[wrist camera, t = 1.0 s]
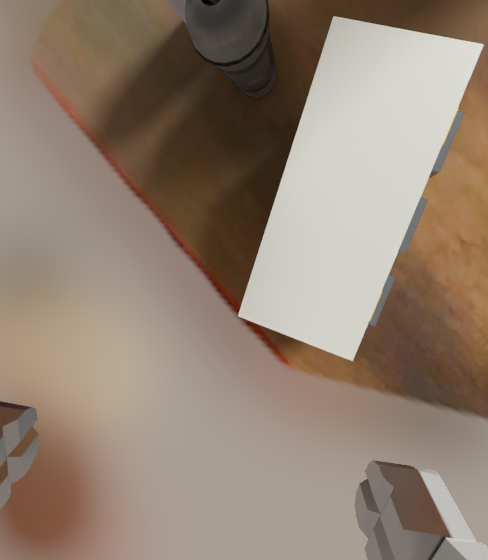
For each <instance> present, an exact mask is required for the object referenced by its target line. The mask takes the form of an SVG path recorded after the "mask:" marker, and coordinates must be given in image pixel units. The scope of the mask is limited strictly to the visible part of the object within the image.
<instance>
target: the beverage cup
mask: <svg viewBox="0 0 488 560" xmlns="http://www.w3.org/2000/svg"><path fill="white" fill-rule="evenodd" d="M185 18H186V25H187V30H188V33H189V35H190V38H191V41H192V43H193V45H194V48H195V50H196V52H197V53H198V54H199V55H200V56H201V57H202V58H203V59H204V60H205V61H207V62H209V63H211V64H212V65H214V66H216V67H218V68H219V69H220V70H221V71H222V72H223V73H224V74H225V75H226V76H227V77H228V78H229V79H230V80H231V81H232V82H233V83H234V84H235V85H236V86H237V87H238V88H239V89H240V90H241V91H243V92H244V93H245V94H246V95H248V96H250V97H260V96H263V95H265V94H266V93H268V92H269V91H270V90H271V88H272V87H273V85H274V83H275V78H276V71H275V61H274V56H273V50H272V45H271V40H270V34H269V8H268V0H186V4H185Z"/></svg>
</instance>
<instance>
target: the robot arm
mask: <svg viewBox="0 0 488 560" xmlns="http://www.w3.org/2000/svg"><path fill="white" fill-rule="evenodd" d="M36 421H37V412H36V409H35V408H32V407H28V406H23V405H17V404H12V403H6V402H1V401H0V510H1V508H2V507H3V505H4V504H5V502H6V501H7V500H8V498H9V497H10V485H11V484H12V483H14V482H15V481H17V480H19V479H20V478H22V477H23V476H24V475H25V474H26V472H27V471H28V469H29V468H30V466H31V465H32V462H33V460H34V457H35V455H36V453H37V450H38V443H39V434H38V432H37V431H36V430H35V429H34V428H33V427H32V426H33V425H34V423H35V422H36ZM365 472H366V474H367V478H368V479H366V480H365V481H363V482H361V483H360V484H359V487H358V489H357V492H356V501H355V509H356V516H357V521H358V525H359V527H360V529H361V530H362V531H363V532H364V534H365V535H366V536H367V537H368V541H367V544H366V546H365V550H366V555H367V558H368V560H488V547H487V546H486V545H485V544H484V543H480V542H476V540H475V538H474V536H473V535H472V533H471V531H470V529H469V527H468V526H467V524H466V522H465V520H464V518H463V517H462V515H461V513H460V511H459V509H458V508H457V506H456V504H455V502H454V500H453V499H452V497H451V495H450V493H449V492H448V490H447V488H446V486H445V484H444V482H443V481H442V479H441V477H440V476H439V474H438V473H437V472H436V471H435V470H433V469H426V468H419V467H411V466H407V465H401V464H393V463H387V462H380V461H372V462H370V463H369V464H368V466H367V468H366V470H365Z"/></svg>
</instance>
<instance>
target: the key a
mask: <svg viewBox="0 0 488 560" xmlns="http://www.w3.org/2000/svg"><path fill="white" fill-rule="evenodd" d="M394 279H395V277H394V276H393V275H392V274H390V273H389V275H388V277H387V280H386V282H385V284H384V287H383V289H382V294H381V297H380V299H379V301H378V304H377V306H376V309H375V311H374V313H373V316H372V318H371V321H369V323H368V324H371V325H373V326H375V325H376V322H377V320H378V318H379V315H380V313H381V310H382V308H383V306H384V303H385V301H386V298H387V296H388V294H389V291H390V289H391V287H392V284H393V282H394Z"/></svg>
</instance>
